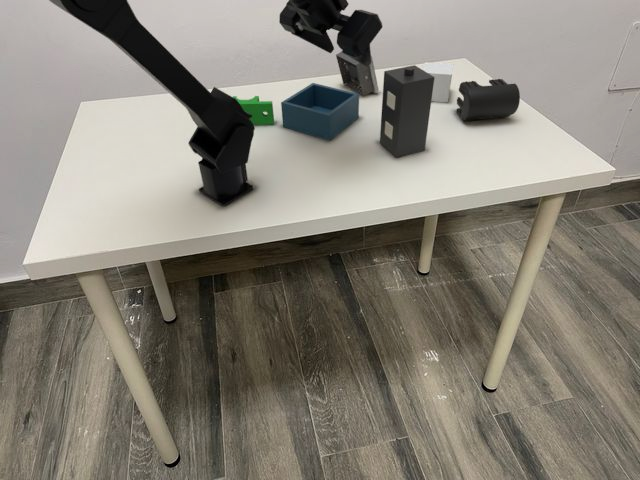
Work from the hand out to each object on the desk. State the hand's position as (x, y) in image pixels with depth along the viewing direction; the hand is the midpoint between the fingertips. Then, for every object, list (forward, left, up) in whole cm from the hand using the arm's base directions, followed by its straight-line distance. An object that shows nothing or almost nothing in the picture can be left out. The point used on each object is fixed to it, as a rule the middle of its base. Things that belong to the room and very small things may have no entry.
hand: (349, 57), depth 81 cm
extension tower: (+3, -10, -15) cm, 18 cm away
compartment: (+1, +8, -15) cm, 17 cm away
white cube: (+26, -3, -15) cm, 30 cm away
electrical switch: (+18, +12, -15) cm, 26 cm away
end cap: (+23, -16, -15) cm, 32 cm away
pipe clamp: (-8, +20, -15) cm, 26 cm away
